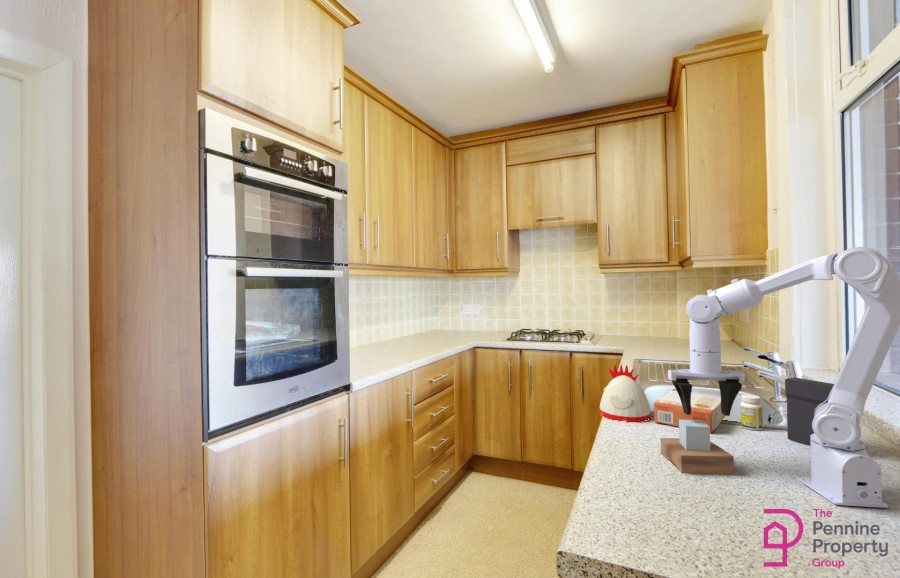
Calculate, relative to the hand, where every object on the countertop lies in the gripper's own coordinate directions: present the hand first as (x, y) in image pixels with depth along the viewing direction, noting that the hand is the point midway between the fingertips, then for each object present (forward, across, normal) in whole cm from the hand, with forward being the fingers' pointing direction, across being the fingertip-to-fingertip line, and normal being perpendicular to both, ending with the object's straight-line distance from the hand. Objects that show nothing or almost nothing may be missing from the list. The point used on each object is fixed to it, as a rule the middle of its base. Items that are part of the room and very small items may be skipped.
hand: (706, 414), depth 89 cm
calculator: (+10, -29, -12) cm, 33 cm away
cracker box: (+7, -3, -22) cm, 23 cm away
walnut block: (+11, +3, +1) cm, 11 cm away
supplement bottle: (+10, -21, -24) cm, 34 cm away
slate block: (+7, +3, +1) cm, 7 cm away
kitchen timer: (+10, +9, -33) cm, 35 cm away
